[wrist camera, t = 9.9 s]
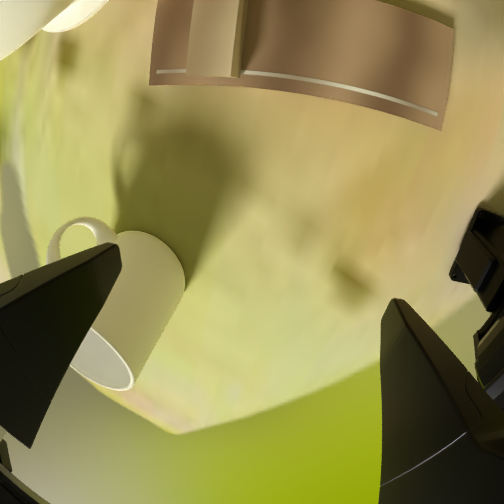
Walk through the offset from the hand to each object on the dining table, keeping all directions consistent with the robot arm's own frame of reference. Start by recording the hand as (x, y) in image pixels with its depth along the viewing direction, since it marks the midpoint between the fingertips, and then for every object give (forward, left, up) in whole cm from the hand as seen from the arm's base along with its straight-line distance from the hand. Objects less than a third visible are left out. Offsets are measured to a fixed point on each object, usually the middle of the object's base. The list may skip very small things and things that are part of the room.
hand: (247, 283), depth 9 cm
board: (0, -9, -12) cm, 15 cm away
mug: (+12, +9, -12) cm, 19 cm away
